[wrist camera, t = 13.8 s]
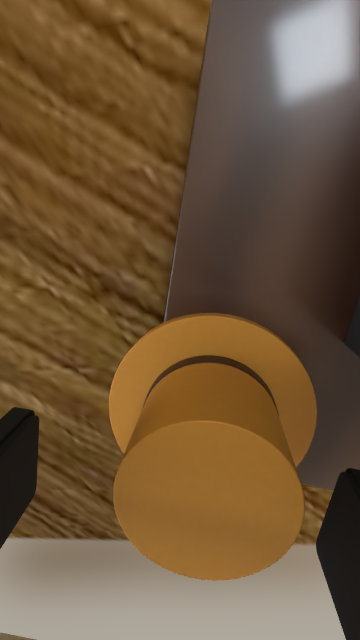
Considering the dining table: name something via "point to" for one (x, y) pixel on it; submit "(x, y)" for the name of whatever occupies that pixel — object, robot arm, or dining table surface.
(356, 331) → the dark grey block
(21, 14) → the dining table surface
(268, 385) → the hat
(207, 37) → the brown flat slab
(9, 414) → the robot arm
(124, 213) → the dining table surface
